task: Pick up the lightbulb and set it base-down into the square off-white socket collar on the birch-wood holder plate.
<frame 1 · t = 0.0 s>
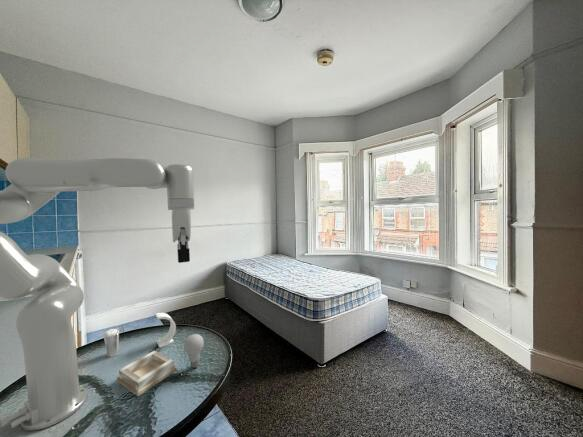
hand: (183, 258, 75), 37 cm above the table, tool pointing down, fingers open, 9 cm apart
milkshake: (113, 354, 86), on the table
white curved piece: (166, 342, 93), on the table
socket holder: (147, 375, 75), on the table
lightbulb: (195, 367, 79), on the table
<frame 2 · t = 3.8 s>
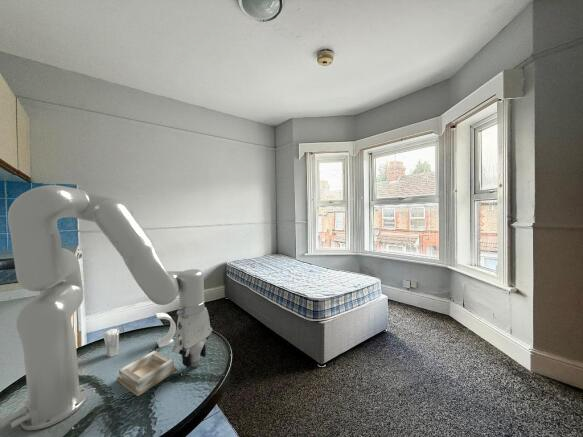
hand: (194, 359, 79), 2 cm above the table, tool pointing down, fingers closed on lightbulb, 5 cm apart
lightbulb: (195, 367, 79), on the table, touching gripper
everything else where it was.
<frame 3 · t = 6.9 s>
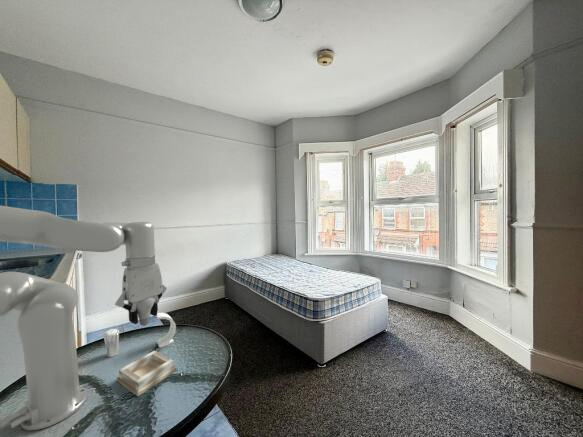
hand: (144, 318, 74), 19 cm above the table, tool pointing down, fingers closed on lightbulb, 5 cm apart
lightbulb: (144, 326, 74), point 16 cm above the table, touching gripper
everything else where it was.
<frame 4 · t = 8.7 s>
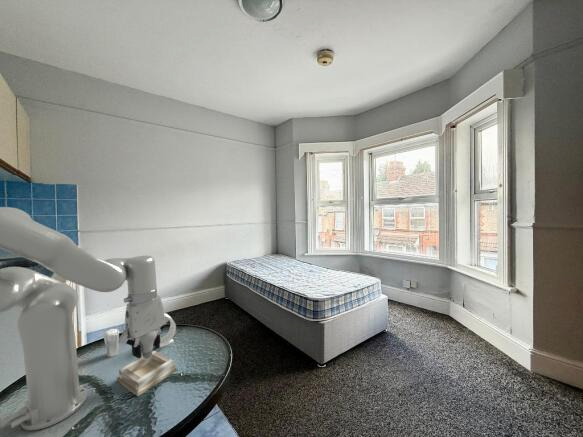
hand: (147, 350, 75), 8 cm above the table, tool pointing down, fingers closed on lightbulb, 5 cm apart
lightbulb: (147, 358, 75), point 6 cm above the table, touching gripper
everything else where it was.
when the fingers open (5 cm above the table, at t = 10.2 s): lightbulb drops 1 cm, resting on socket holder.
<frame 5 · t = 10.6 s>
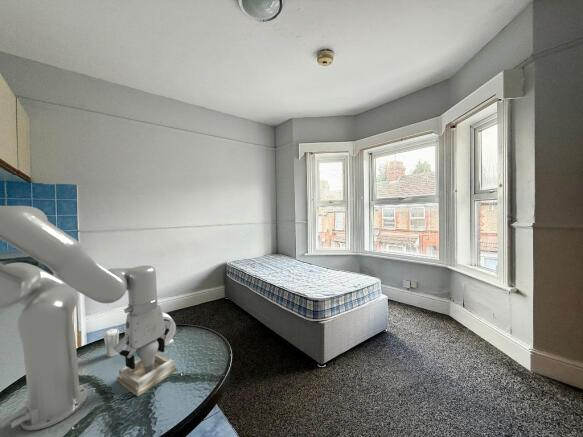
hand: (146, 358, 75), 6 cm above the table, tool pointing down, fingers open, 8 cm apart
lightbulb: (149, 372, 76), point 1 cm above the table, touching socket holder
everything else where it was.
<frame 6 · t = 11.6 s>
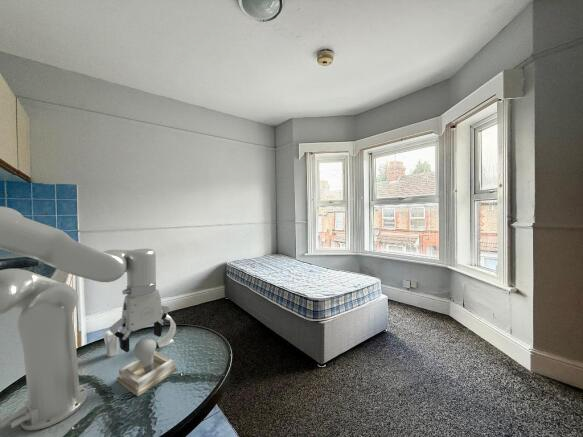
hand: (142, 342, 74), 11 cm above the table, tool pointing down, fingers open, 9 cm apart
nothing on the table moved.
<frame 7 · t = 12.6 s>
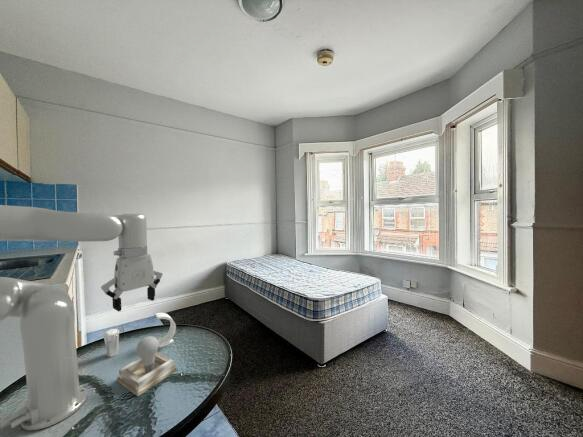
hand: (135, 304, 76), 22 cm above the table, tool pointing down, fingers open, 9 cm apart
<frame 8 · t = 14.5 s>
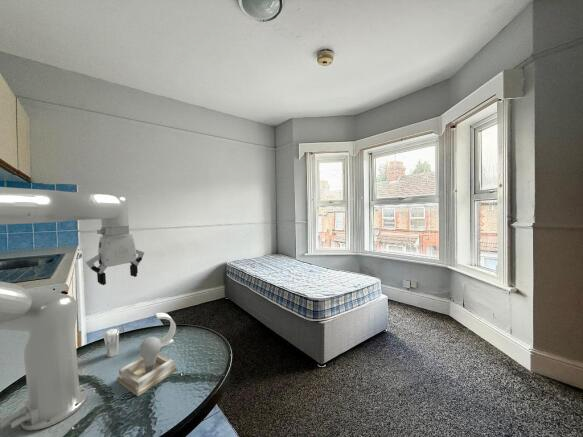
hand: (119, 279, 83), 28 cm above the table, tool pointing down, fingers open, 9 cm apart
at the end: lightbulb 0.6 cm off-centre on the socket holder, point 0.8 cm above the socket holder's base; lightbulb tilted 1°; the gripper is holding nothing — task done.
